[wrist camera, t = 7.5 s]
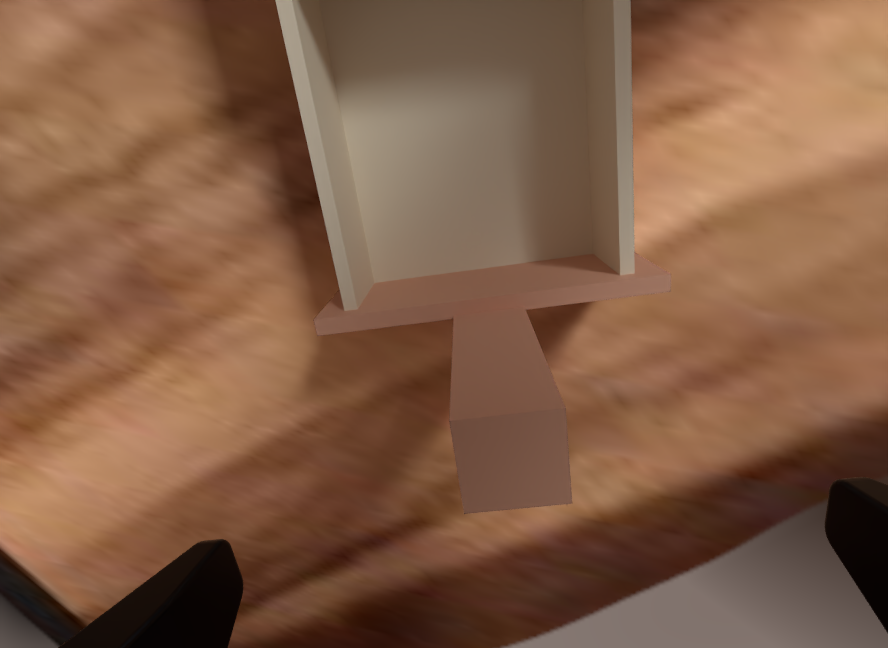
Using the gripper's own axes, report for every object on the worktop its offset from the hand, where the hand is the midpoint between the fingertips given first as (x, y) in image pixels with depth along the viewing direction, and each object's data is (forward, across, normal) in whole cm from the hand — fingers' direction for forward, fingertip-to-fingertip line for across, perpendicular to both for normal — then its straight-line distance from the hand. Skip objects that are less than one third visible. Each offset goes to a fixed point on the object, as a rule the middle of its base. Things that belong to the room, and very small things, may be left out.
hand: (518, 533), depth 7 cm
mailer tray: (+11, 0, -7) cm, 13 cm away
